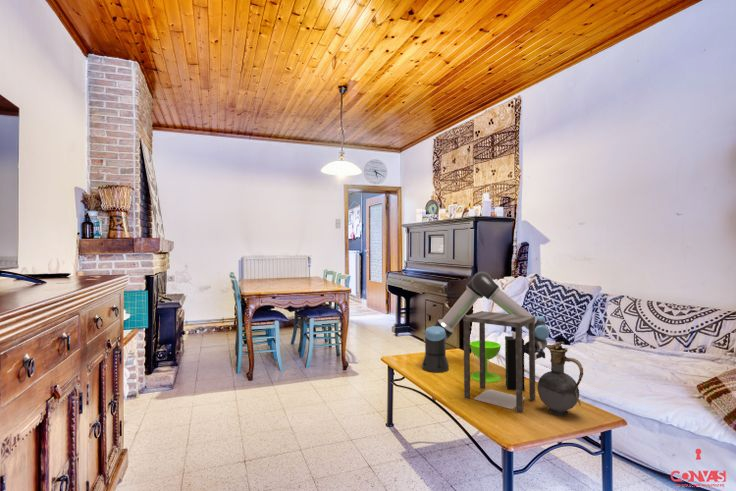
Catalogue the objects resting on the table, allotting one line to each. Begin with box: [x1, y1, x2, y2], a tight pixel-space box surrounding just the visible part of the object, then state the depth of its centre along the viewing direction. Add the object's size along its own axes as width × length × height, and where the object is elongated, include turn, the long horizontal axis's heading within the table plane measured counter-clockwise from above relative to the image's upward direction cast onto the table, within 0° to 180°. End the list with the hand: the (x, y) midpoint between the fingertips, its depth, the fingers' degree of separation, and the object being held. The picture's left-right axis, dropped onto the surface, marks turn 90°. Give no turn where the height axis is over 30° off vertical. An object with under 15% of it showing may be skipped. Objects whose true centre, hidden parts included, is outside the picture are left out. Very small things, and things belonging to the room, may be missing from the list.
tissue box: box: [504, 330, 526, 392], centre depth 195 cm, size 8×8×28 cm
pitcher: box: [536, 341, 584, 417], centre depth 164 cm, size 11×19×30 cm, turn 27°
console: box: [462, 310, 536, 414], centre depth 180 cm, size 26×20×38 cm
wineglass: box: [470, 340, 502, 384], centre depth 210 cm, size 16×16×18 cm
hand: (519, 355), depth 199 cm, fingers open, 13 cm apart
